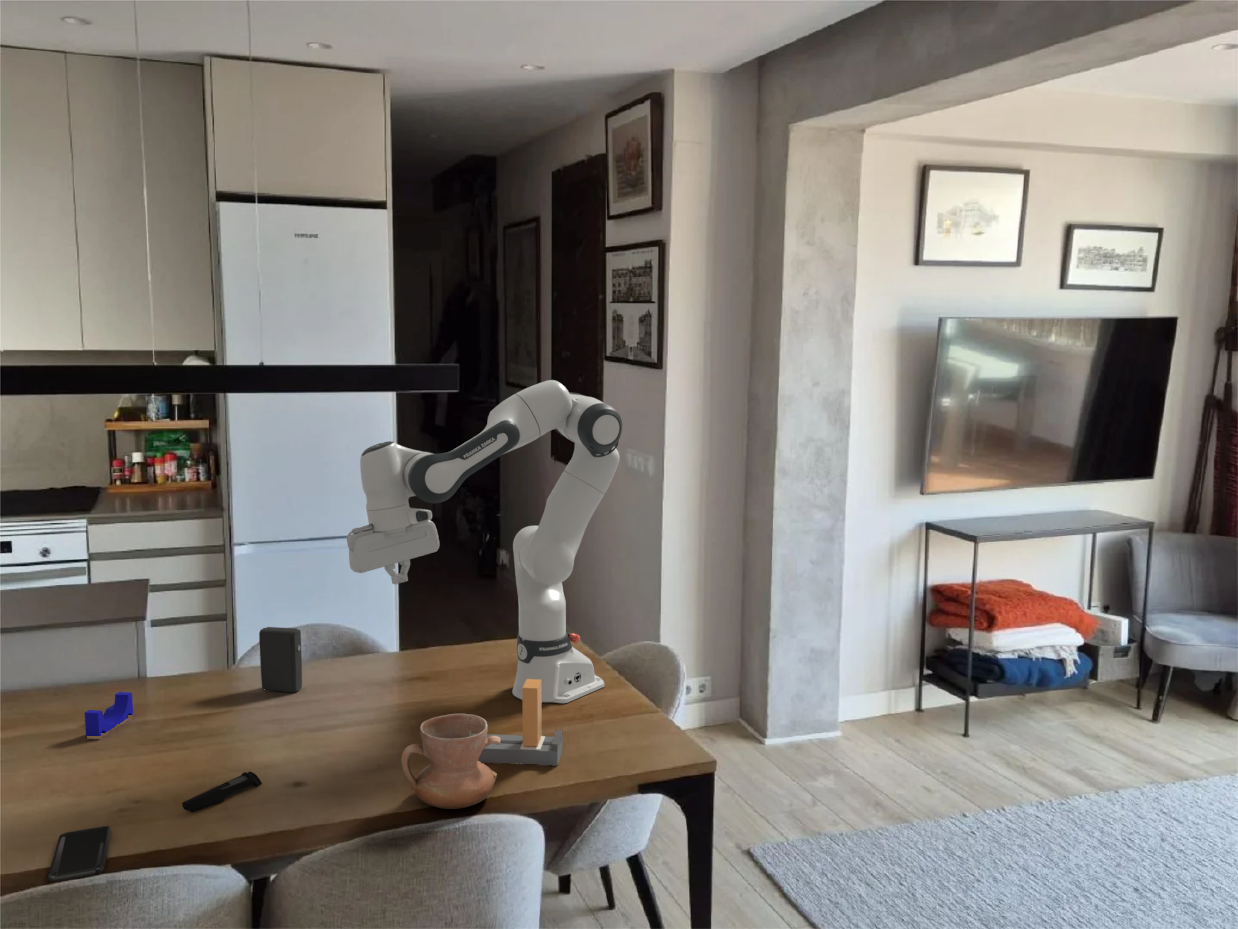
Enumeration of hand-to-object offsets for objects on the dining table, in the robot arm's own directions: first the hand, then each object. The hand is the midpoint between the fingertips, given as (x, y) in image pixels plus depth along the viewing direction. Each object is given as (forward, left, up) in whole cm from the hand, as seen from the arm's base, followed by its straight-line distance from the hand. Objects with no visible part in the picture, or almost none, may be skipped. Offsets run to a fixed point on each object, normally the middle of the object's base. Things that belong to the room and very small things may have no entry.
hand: (400, 582), depth 215 cm
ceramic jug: (+10, +36, -32) cm, 49 cm away
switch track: (-9, +28, -32) cm, 43 cm away
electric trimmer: (+42, +10, -32) cm, 54 cm away
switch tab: (-12, +31, -28) cm, 44 cm away
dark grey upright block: (+12, -37, -32) cm, 50 cm away
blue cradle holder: (+50, -38, -32) cm, 71 cm away
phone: (+67, +15, -32) cm, 76 cm away
